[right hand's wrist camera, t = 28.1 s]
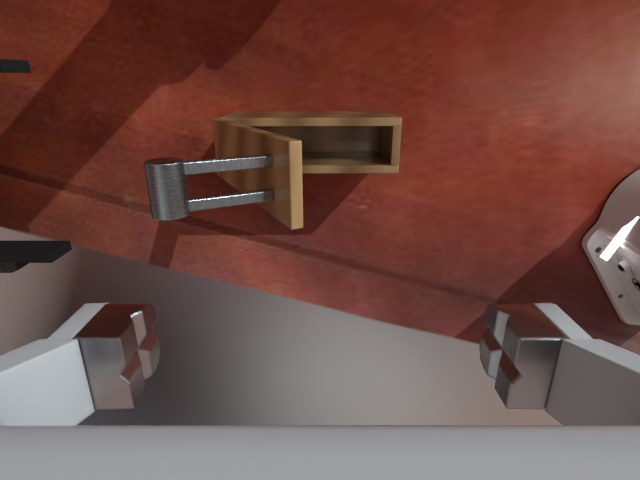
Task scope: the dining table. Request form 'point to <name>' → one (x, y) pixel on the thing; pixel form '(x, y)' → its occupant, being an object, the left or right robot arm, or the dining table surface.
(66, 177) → the dining table surface
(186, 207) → the lid
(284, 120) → the brown wooden rectangular box
